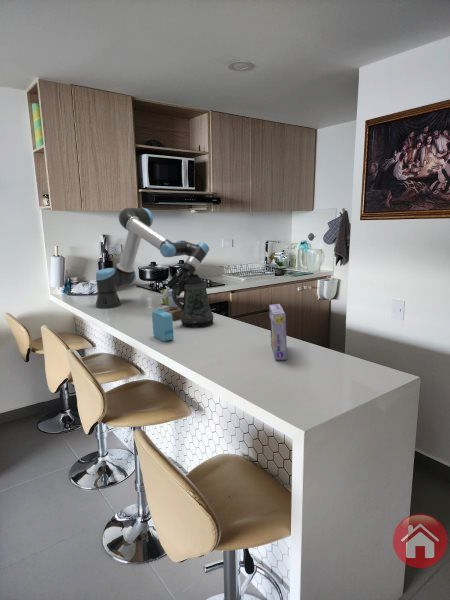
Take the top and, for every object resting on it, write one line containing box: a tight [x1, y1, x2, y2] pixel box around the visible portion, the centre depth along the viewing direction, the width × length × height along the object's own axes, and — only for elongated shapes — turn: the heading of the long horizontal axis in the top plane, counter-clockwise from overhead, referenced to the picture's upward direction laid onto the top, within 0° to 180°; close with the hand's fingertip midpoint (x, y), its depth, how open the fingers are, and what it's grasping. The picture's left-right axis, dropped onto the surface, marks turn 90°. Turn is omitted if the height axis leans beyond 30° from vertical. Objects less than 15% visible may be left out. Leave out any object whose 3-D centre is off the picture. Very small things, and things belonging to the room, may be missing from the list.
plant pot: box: [160, 289, 169, 306], centre depth 248 cm, size 9×9×9 cm
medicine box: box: [168, 288, 177, 307], centre depth 211 cm, size 8×4×9 cm, turn 3°
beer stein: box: [172, 273, 214, 329], centre depth 194 cm, size 16×19×25 cm
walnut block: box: [158, 306, 183, 322], centre depth 213 cm, size 12×12×5 cm
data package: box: [151, 309, 175, 343], centre depth 173 cm, size 12×4×12 cm, turn 33°
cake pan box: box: [268, 303, 288, 361], centre depth 149 cm, size 19×5×18 cm, turn 178°
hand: (168, 299), depth 209 cm, fingers closed on medicine box, 9 cm apart
